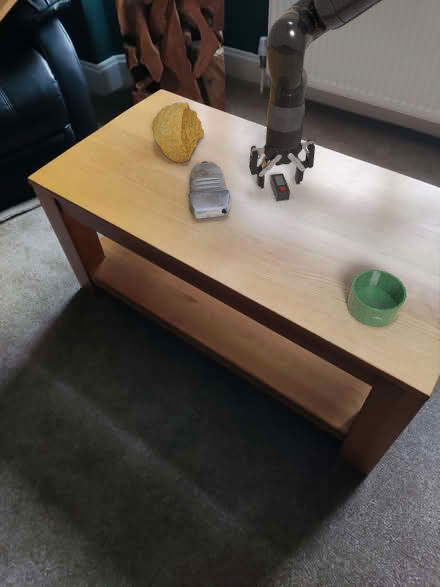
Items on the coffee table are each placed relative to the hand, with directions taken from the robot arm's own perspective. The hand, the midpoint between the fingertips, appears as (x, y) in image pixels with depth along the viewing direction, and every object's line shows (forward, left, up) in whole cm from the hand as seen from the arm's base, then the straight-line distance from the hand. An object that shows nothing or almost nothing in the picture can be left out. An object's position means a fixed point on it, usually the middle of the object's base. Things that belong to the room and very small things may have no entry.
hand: (279, 184), depth 101 cm
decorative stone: (+22, -24, -2) cm, 32 cm away
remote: (0, 0, -2) cm, 2 cm away
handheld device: (+17, -3, -2) cm, 17 cm away
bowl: (-10, +36, -2) cm, 37 cm away
